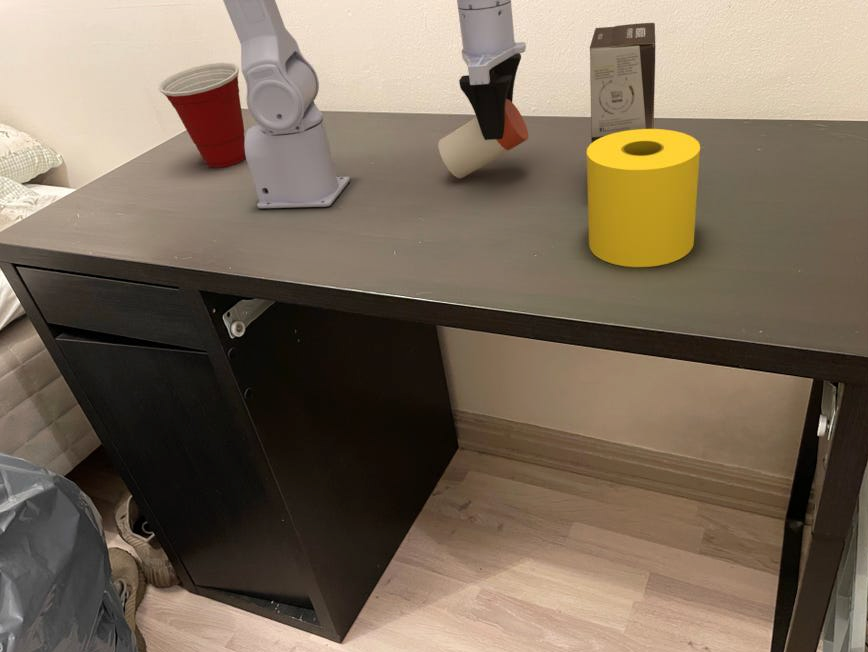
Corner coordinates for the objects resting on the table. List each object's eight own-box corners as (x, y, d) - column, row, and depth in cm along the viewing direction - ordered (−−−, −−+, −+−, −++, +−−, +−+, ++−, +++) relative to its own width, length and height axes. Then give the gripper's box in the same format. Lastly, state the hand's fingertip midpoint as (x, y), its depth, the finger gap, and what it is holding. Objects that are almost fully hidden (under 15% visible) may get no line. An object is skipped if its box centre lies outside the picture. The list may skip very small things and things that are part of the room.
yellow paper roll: (691, 269, 67) (697, 170, 61) (581, 265, 70) (578, 169, 64) (696, 220, 75) (702, 128, 69) (597, 218, 77) (595, 129, 72)
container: (467, 168, 93) (531, 130, 88) (459, 185, 89) (525, 146, 84) (443, 133, 91) (507, 92, 86) (433, 149, 86) (500, 107, 82)
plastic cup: (171, 174, 103) (138, 86, 96) (219, 145, 111) (192, 62, 104) (232, 177, 99) (203, 86, 92) (278, 148, 107) (254, 62, 100)
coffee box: (651, 201, 79) (655, 42, 70) (591, 202, 81) (587, 47, 71) (652, 168, 86) (656, 20, 77) (597, 169, 88) (594, 24, 78)
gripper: (511, 15, 72) (523, 150, 80) (529, -14, 83) (538, 107, 91) (441, 22, 73) (460, 154, 81) (469, -8, 85) (482, 110, 93)
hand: (497, 129), depth 86 cm, fingers closed on container, 5 cm apart
